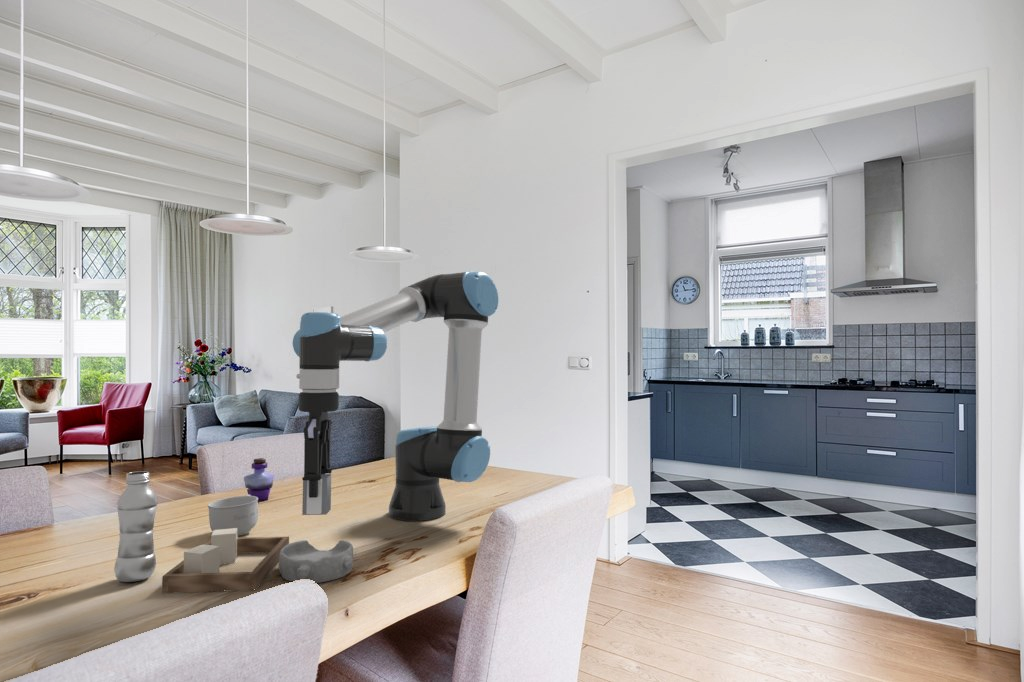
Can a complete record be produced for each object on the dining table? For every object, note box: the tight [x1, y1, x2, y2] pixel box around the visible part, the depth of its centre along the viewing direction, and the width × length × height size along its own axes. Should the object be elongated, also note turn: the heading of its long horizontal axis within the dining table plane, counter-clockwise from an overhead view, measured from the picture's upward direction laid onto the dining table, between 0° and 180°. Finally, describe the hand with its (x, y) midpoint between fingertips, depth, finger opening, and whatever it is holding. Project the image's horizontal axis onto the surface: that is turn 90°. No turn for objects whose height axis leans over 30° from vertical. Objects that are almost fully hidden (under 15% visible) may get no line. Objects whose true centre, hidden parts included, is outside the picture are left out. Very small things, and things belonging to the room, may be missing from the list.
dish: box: [278, 539, 355, 584], centre depth 116 cm, size 14×14×5 cm
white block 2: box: [210, 528, 238, 565], centre depth 122 cm, size 4×4×6 cm
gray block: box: [301, 473, 332, 516], centre depth 116 cm, size 4×4×7 cm
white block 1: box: [183, 543, 221, 574], centre depth 111 cm, size 4×4×6 cm
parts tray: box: [161, 535, 290, 594], centre depth 117 cm, size 16×22×3 cm
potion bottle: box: [243, 457, 276, 503], centre depth 173 cm, size 9×9×12 cm
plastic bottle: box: [113, 470, 158, 583], centre depth 111 cm, size 6×7×20 cm
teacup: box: [207, 494, 259, 537], centre depth 142 cm, size 14×11×8 cm
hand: (316, 510), depth 116 cm, fingers closed on gray block, 4 cm apart
